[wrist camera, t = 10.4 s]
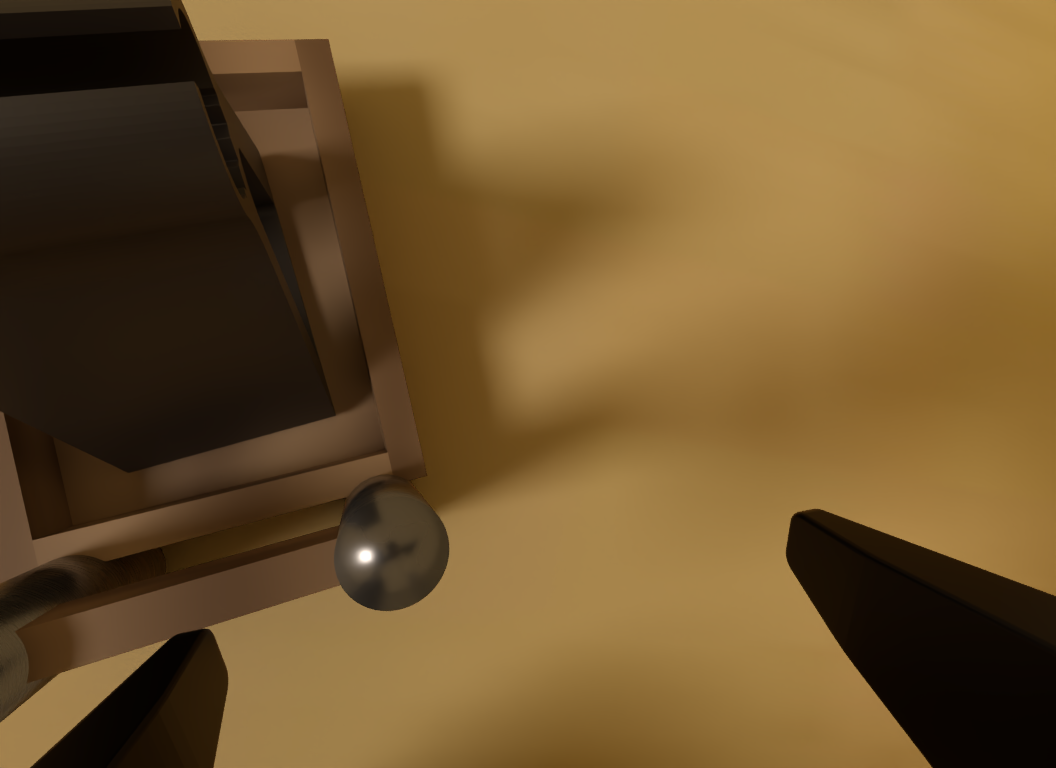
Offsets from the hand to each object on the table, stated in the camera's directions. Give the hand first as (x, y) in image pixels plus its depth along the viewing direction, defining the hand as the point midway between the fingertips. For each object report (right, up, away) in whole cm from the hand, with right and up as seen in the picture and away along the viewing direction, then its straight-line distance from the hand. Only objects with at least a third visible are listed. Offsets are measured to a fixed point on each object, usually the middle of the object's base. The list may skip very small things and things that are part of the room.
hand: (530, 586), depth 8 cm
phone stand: (-10, +6, +9) cm, 15 cm away
